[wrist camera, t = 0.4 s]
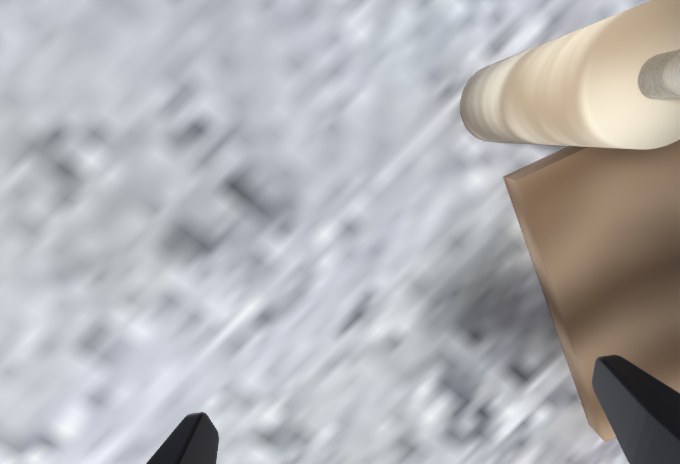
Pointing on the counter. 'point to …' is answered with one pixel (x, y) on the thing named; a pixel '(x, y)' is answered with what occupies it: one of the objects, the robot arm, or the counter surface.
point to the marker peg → (586, 86)
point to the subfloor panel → (607, 257)
